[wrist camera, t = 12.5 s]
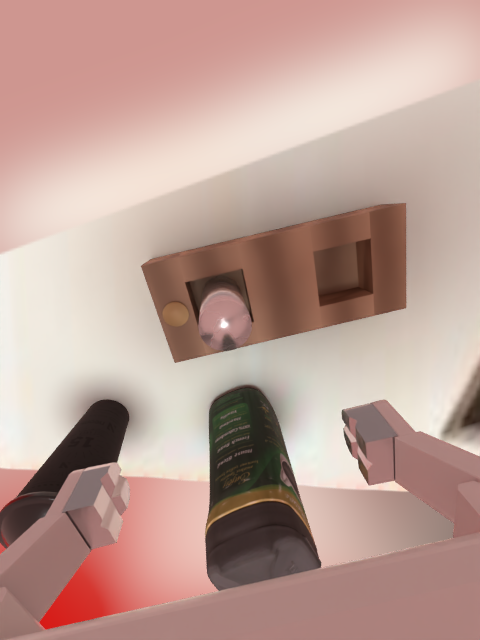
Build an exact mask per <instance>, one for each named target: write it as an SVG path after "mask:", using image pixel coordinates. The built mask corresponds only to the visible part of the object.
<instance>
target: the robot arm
mask: <svg viewBox="0 0 480 640" xmlns="http://www.w3.org/2000/svg"><path fill="white" fill-rule="evenodd" d="M342 419H343V421H344V423H345V424H346V425H345V427H344V428H343V430H344V437H345V440H346V444H347V446H348V449H349V451H350V453H351V454H352V456H353V457H354V458H356V459H358V464H359V469H360V471H361V473H362V474H363V476H364V478H365V480H366V481H367V483H368V485H374V484H379V483H384V482H389V481H394V480H395V482H396V483H398V484H399V485H401V486H402V487H403V488H405V489H406V490H408V491H409V492H410V493H412V494H413V495H415V496H416V497H417V498H419V499H420V500H422V501H423V502H425V503H426V504H427V505H429V506H430V507H431V508H433V509H434V510H436V511H437V512H439V513H440V514H441V515H443V516H444V517H446V518H447V519H449V520H450V521H451V522H453V523H454V532H453V538H451V539H447V540H443V541H438V542H434V543H429V544H425V545H420V546H416V547H412V548H407V549H403V550H398V551H394V552H390V553H385V554H380V555H376V556H371V557H367V558H363V559H358V560H354V561H349V562H345V563H340V564H336V565H332V566H327V567H323V568H318V569H314V570H309V571H305V572H300V573H296V574H292V575H287V576H283V577H278V578H274V579H269V580H265V581H261V582H256V583H252V584H247V585H243V586H238V587H234V588H230V589H225V590H221V591H217V592H212V593H208V594H203V595H199V596H194V597H190V598H185V599H181V600H177V601H173V602H167V603H163V604H159V605H154V606H150V607H145V608H141V609H136V610H132V611H127V612H123V613H119V614H114V615H110V616H106V617H101V618H96V619H92V620H88V621H83V622H79V623H74V624H70V625H66V626H61V627H57V628H52V629H48V630H45V629H44V628H43V627H42V626H41V625H40V624H39V621H40V620H41V619H42V617H43V616H44V615H45V613H46V612H47V611H48V609H49V608H50V606H51V605H52V604H53V602H54V601H55V600H56V598H57V597H58V596H59V594H60V593H61V591H62V590H63V589H64V587H65V586H66V585H67V583H68V582H69V580H70V579H71V578H72V576H73V575H74V574H75V572H76V571H77V569H78V568H79V567H80V565H81V564H82V563H83V561H84V560H85V559H86V557H87V556H88V554H89V553H90V552H91V549H95V548H99V547H102V546H106V545H110V544H114V543H117V539H118V536H119V533H120V530H121V526H122V523H123V520H122V518H121V515H122V514H123V512H124V511H125V510H126V509H127V507H128V503H129V499H130V488H129V484H128V482H127V480H126V478H124V477H122V476H120V472H121V468H120V466H119V465H118V463H114V462H113V463H109V464H104V465H99V466H94V467H89V468H86V469H81V470H76V471H73V472H72V473H70V474H69V475H68V477H67V479H66V481H65V482H64V484H63V486H62V488H61V489H60V491H59V493H58V495H57V496H56V498H55V500H54V502H53V503H52V505H51V507H50V509H49V510H48V512H47V514H46V516H45V517H43V518H40V519H39V520H38V521H36V522H35V523H34V524H33V525H32V526H31V527H30V528H29V529H28V530H27V531H25V532H24V533H23V534H22V535H21V536H20V537H19V538H18V539H17V540H16V541H15V542H13V543H12V544H11V545H10V546H9V547H8V548H7V549H6V550H5V551H4V552H2V554H0V640H480V457H479V456H477V455H475V454H472V453H470V452H468V451H465V450H463V449H461V448H458V447H456V446H454V445H451V444H449V443H447V442H444V441H442V440H439V439H437V438H435V437H432V436H430V435H428V434H425V433H423V432H421V431H420V432H415V431H414V430H413V429H412V428H411V426H410V425H409V424H408V423H407V422H406V421H405V420H404V419H403V418H402V417H401V415H400V414H399V413H398V412H397V411H396V410H395V409H394V408H393V407H392V406H391V405H390V403H389V402H388V401H386V400H380V401H376V402H372V403H370V404H364V405H360V406H356V407H352V408H348V409H343V410H342Z"/></svg>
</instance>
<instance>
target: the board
mask: <svg viewBox="0 0 480 640" xmlns="http://www.w3.org/2000/svg"><path fill="white" fill-rule="evenodd" d="M141 267H142V270H143V273H144V276H145V279H146V282H147V285H148V287H149V290H150V293H151V296H152V299H153V302H154V305H155V307H156V310H157V313H158V316H159V319H160V322H161V325H162V327H163V330H164V333H165V336H166V339H167V342H168V345H169V347H170V350H171V353H172V356H173V359H174V362H175V363H176V362H181V361H185V360H189V359H193V358H197V357H202V356H206V355H210V354H214V353H218V352H223V351H220V350H216V349H213V348H211V347H210V346H208V345H207V344H206V343H205V342H204V341H203V340H202V338H201V336H200V334H199V329H198V324H199V315H200V307H201V299H202V291H203V288H204V286H205V284H206V283H207V282H208V281H209V280H210V279H212V278H214V277H217V276H226V277H229V278H231V279H233V280H234V281H235V282H236V283H237V285H238V286H239V288H240V291H241V294H242V296H243V299H244V302H245V304H246V307H247V310H248V312H249V315H250V318H251V321H252V330H251V333H250V336H249V338H248V339H247V341H246V342H245V343H244V344H243V345H241V346H240V347H244V346H248V345H252V344H256V343H261V342H265V341H269V340H273V339H277V338H282V337H286V336H290V335H294V334H299V333H303V332H307V331H311V330H315V329H320V328H324V327H328V326H332V325H336V324H341V323H345V322H349V321H353V320H358V319H362V318H366V317H370V316H374V315H379V314H383V313H387V312H391V311H395V310H400V309H404V308H406V203H401V204H384V205H378V206H373V207H369V208H365V209H361V210H356V211H352V212H348V213H344V214H340V215H335V216H331V217H327V218H323V219H319V220H314V221H310V222H306V223H302V224H297V225H293V226H289V227H285V228H281V229H276V230H272V231H268V232H264V233H260V234H255V235H251V236H247V237H243V238H238V239H234V240H230V241H226V242H222V243H217V244H213V245H209V246H205V247H201V248H196V249H192V250H188V251H184V252H179V253H175V254H171V255H167V256H163V257H158V258H154V259H150V260H149V261H148V262H146V263H145V264H143V265H142V266H141ZM240 347H238V348H240Z"/></svg>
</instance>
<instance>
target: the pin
mask: <svg viewBox="0 0 480 640" xmlns="http://www.w3.org/2000/svg"><path fill="white" fill-rule="evenodd" d="M198 329H199V334H200V336H201V338H202V340H203V341H204V342H205V343H206V344H207V345H208V346H210V347H211V348H213V349H216V350H220V351H229V350H233V349H236V348H238V347H240V346H241V345H243V344H244V343H245V342H246V341H247V339H248V338H249V336H250V333H251V330H252V321H251V318H250V315H249V312H248V310H247V307H246V304H245V302H244V299H243V296H242V294H241V291H240V288H239V286H238V285H237V283H236V282H235V281H234V280H233V279H231V278H229V277H226V276H217V277H214V278H212V279H210V280H209V281H208V282H207V283H206V284H205V286H204V288H203V291H202V299H201V307H200V315H199V324H198Z"/></svg>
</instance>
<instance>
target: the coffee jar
mask: <svg viewBox="0 0 480 640" xmlns="http://www.w3.org/2000/svg"><path fill="white" fill-rule="evenodd" d="M209 444H210V505H209V514H208V519H207V523H206V531H205V537H206V538H205V541H206V560H207V574H208V577H209V579H210V581H211V582H212V583H213V584H214V586H215V587H216V588H217V589H218V590H219V591H221V590H225V589H230V588H234V587H238V586H243V585H247V584H252V583H256V582H261V581H265V580H269V579H274V578H278V577H283V576H287V575H292V574H296V573H300V572H305V571H309V570H314V569H318V568H321V561H320V559H319V557H318V553H317V548H316V545H315V542H314V539H313V536H312V533H311V530H310V526H309V523H308V520H307V517H306V514H305V511H304V508H303V504H302V502H301V498H300V494H299V491H298V488H297V484H296V481H295V477H294V474H293V470H292V467H291V464H290V460H289V457H288V454H287V450H286V446H285V443H284V439H283V436H282V432H281V429H280V425H279V422H278V419H277V417H276V415H275V412H274V411H273V409H272V407H271V405H270V403H269V402H268V400H267V399H266V398H265V396H264V395H263V394H262V393H261V392H259V391H258V390H256V389H251V388H244V389H239V390H235V391H233V392H230V393H228V394H226V395H224V396H222V397H221V398H219V399H218V400H216V401H215V402H214V403H213V405H212V406H211V408H210V411H209Z"/></svg>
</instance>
